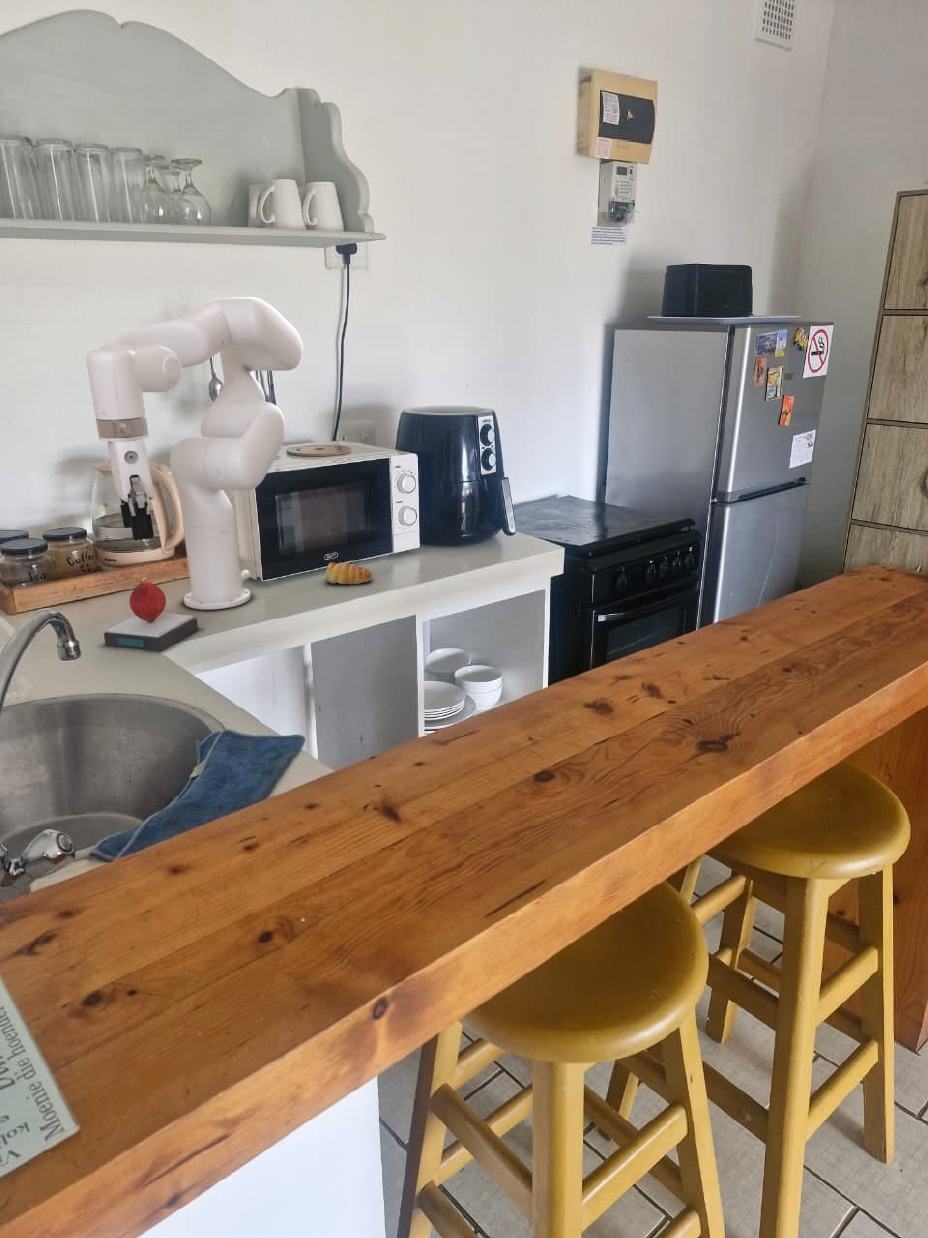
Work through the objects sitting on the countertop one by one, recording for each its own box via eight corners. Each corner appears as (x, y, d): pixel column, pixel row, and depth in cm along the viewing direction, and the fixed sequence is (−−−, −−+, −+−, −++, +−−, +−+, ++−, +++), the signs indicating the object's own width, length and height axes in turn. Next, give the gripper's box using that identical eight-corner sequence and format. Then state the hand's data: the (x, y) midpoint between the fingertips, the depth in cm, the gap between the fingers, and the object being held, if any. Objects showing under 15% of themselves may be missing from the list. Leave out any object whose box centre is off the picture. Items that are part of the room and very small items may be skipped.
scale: (145, 624, 157) (143, 610, 156) (198, 629, 154) (196, 614, 153) (104, 646, 147) (101, 630, 146) (160, 652, 144) (157, 636, 143)
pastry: (375, 576, 184) (374, 559, 183) (368, 586, 178) (367, 568, 177) (331, 576, 186) (330, 558, 184) (323, 585, 179) (322, 567, 178)
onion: (156, 628, 146) (150, 583, 144) (126, 626, 147) (119, 581, 145) (174, 617, 152) (168, 573, 149) (144, 616, 153) (138, 572, 150)
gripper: (157, 433, 134) (172, 540, 140) (137, 421, 148) (152, 519, 154) (105, 437, 131) (123, 547, 137) (91, 425, 145) (107, 525, 151)
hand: (138, 532), depth 145 cm, fingers open, 9 cm apart
